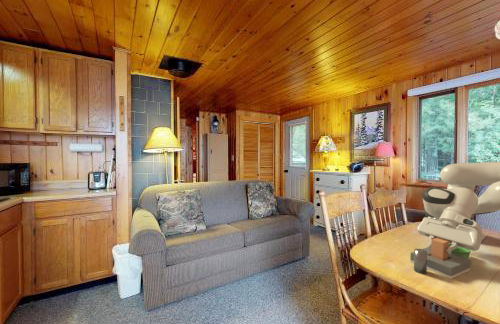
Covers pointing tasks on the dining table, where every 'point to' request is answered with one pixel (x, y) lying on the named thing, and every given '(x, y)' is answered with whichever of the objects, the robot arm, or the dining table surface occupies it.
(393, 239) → the dining table surface
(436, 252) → the square bit
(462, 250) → the ramekin
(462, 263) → the holder block
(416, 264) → the cylinder
